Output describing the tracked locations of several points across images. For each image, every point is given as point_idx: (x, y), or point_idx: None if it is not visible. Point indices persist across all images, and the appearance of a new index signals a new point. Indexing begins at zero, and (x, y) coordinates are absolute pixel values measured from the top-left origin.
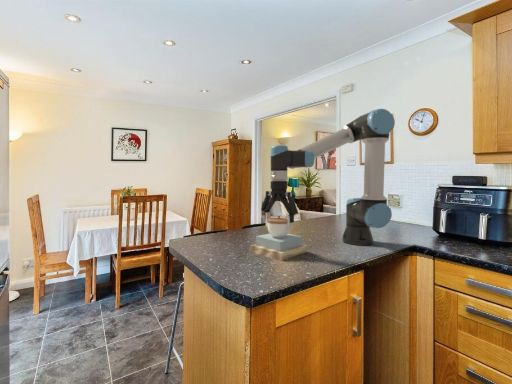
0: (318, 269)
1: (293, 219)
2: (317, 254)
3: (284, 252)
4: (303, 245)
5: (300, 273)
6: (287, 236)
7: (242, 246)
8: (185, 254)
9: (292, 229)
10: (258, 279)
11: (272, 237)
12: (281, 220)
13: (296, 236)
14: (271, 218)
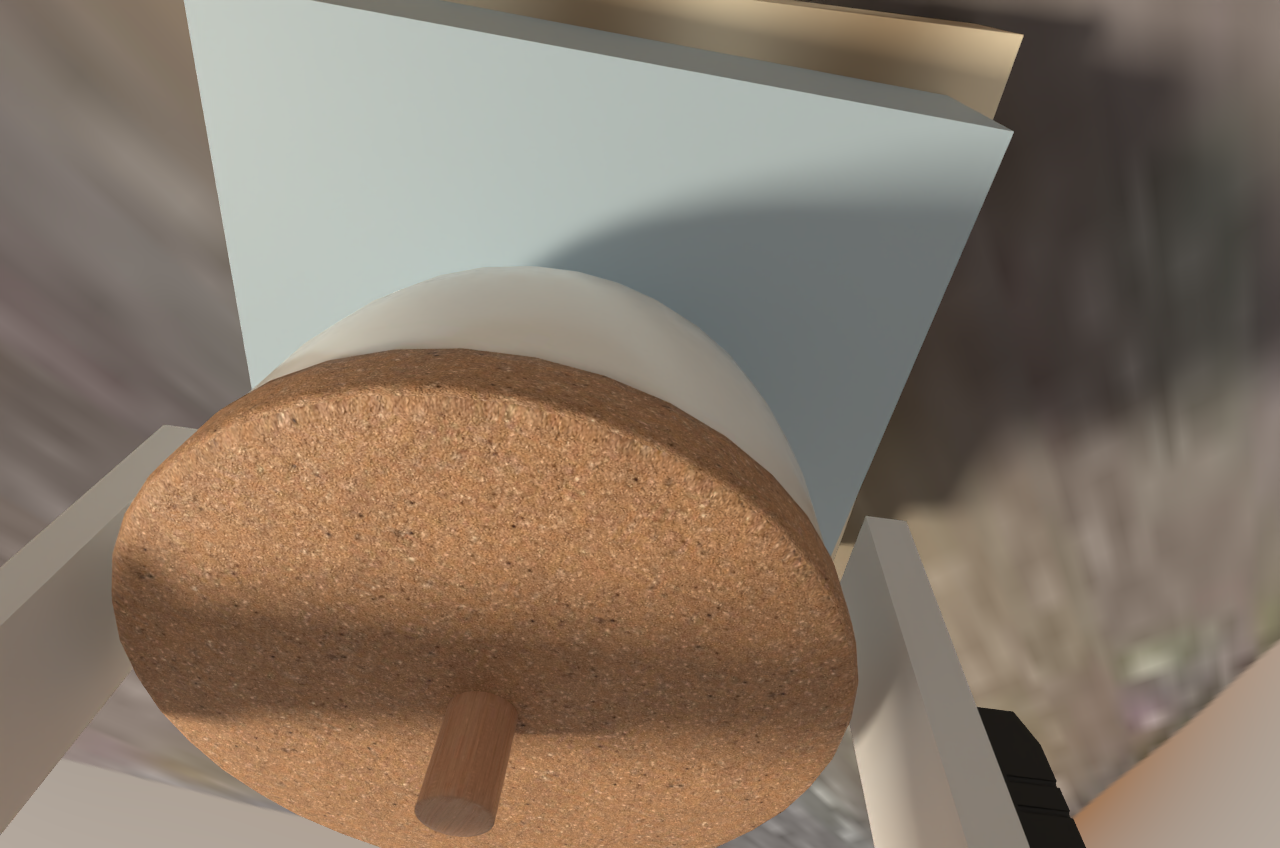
0: (1240, 568)
1: (1055, 818)
2: (1200, 42)
3: (833, 556)
4: (969, 89)
5: (1086, 691)
6: (698, 320)
7: (66, 357)
8: (96, 757)
9: (905, 527)
10: (851, 836)
11: None
12: (679, 809)
13: (869, 205)
14: (250, 723)
